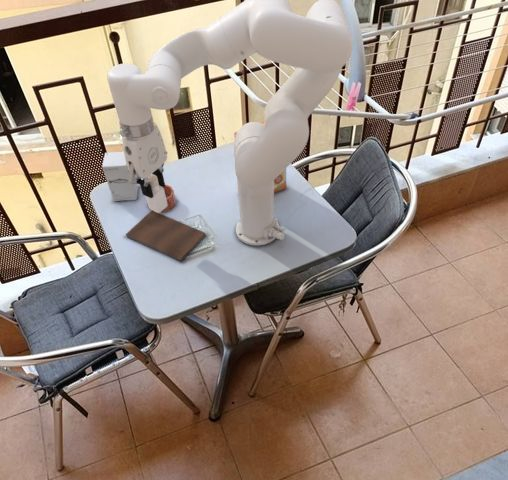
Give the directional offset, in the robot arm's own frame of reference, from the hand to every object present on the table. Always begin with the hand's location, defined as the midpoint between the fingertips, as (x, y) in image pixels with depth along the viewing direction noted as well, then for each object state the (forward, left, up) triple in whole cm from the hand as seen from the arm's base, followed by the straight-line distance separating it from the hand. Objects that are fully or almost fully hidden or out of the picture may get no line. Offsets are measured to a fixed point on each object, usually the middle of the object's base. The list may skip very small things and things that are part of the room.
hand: (154, 190), depth 121 cm
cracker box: (-14, -31, -16) cm, 38 cm away
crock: (+10, -11, -16) cm, 22 cm away
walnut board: (0, 0, -16) cm, 16 cm away
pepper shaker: (0, 0, -6) cm, 6 cm away
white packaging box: (+23, -9, -16) cm, 30 cm away
